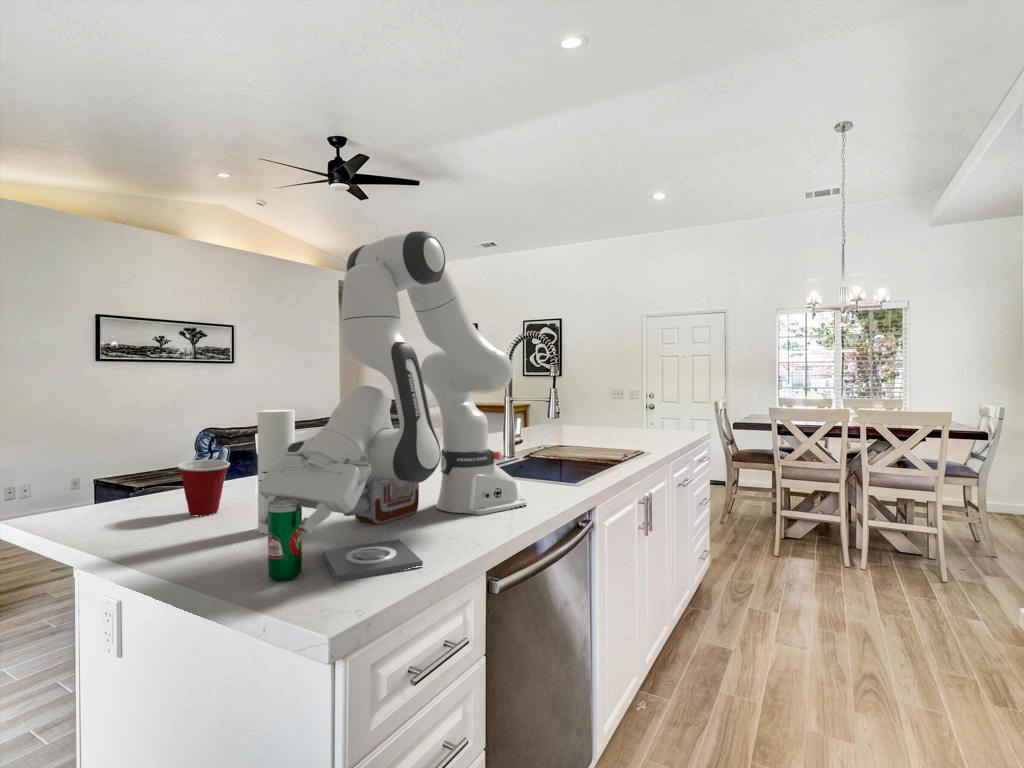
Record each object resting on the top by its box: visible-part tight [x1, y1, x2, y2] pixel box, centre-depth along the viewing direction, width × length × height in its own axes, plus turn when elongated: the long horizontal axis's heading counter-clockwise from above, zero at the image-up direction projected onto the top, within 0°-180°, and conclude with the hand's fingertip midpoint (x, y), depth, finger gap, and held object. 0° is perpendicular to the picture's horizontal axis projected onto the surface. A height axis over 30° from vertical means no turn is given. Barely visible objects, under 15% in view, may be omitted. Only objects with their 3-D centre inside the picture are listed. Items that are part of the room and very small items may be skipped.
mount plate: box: [322, 539, 424, 582], centre depth 94 cm, size 14×14×1 cm
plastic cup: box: [176, 459, 231, 517], centre depth 127 cm, size 11×11×12 cm
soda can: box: [267, 500, 303, 583], centre depth 87 cm, size 5×5×12 cm
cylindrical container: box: [257, 409, 296, 535], centre depth 114 cm, size 7×7×25 cm
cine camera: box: [342, 477, 420, 525], centre depth 122 cm, size 9×19×20 cm, turn 146°
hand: (283, 527), depth 87 cm, fingers open, 8 cm apart
